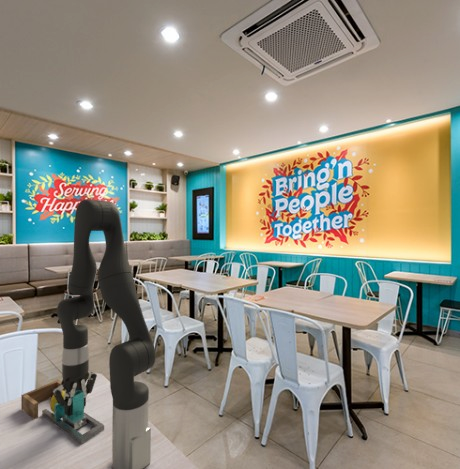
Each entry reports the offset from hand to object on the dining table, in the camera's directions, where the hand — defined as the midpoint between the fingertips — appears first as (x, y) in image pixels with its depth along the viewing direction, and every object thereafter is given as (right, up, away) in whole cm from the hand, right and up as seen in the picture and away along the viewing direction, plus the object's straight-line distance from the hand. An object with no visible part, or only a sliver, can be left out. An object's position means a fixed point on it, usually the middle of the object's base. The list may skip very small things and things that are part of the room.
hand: (75, 411), depth 94 cm
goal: (-15, -4, +10) cm, 18 cm away
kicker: (0, -4, 0) cm, 4 cm away
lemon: (-8, -4, +5) cm, 11 cm away
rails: (-2, -4, +2) cm, 5 cm away
